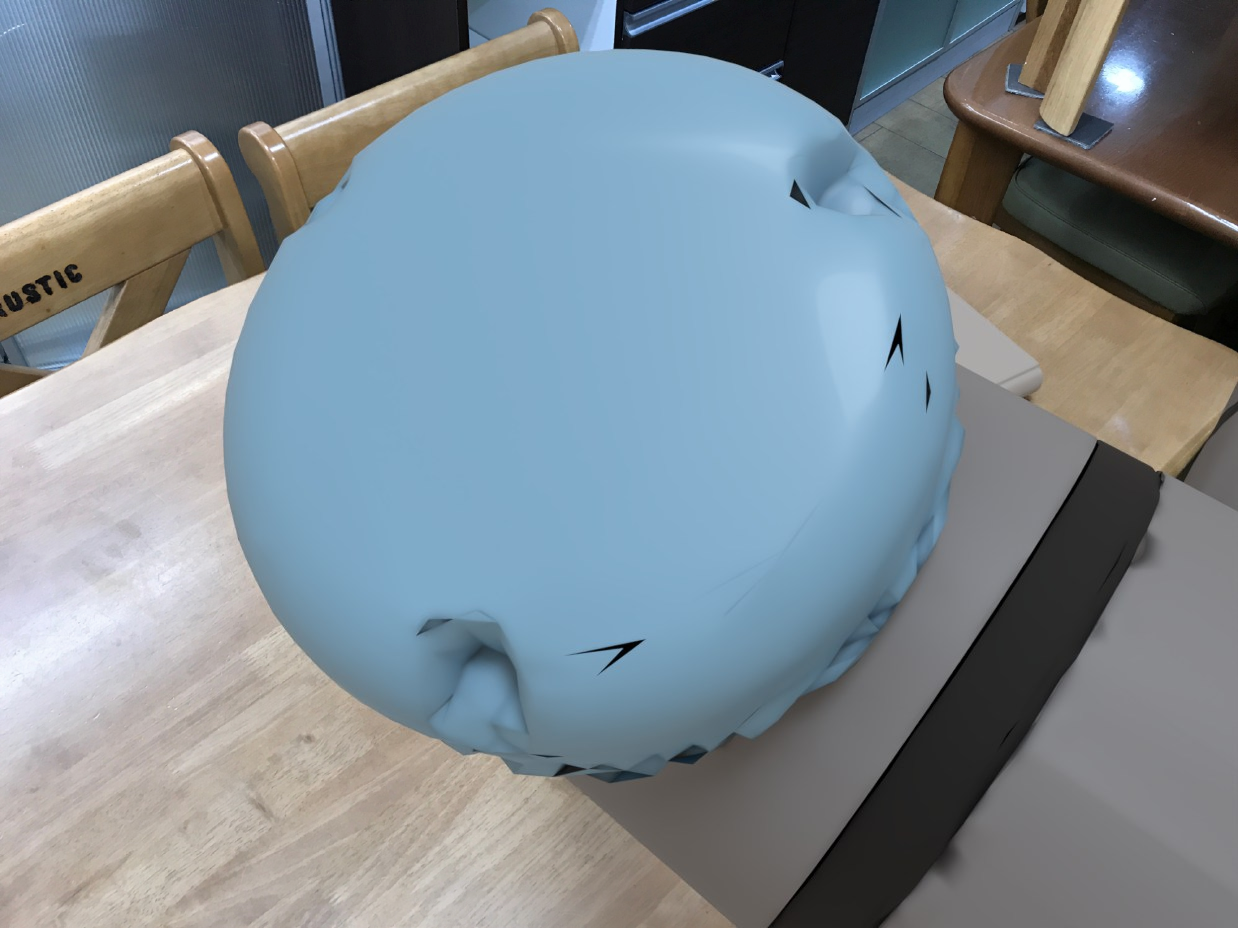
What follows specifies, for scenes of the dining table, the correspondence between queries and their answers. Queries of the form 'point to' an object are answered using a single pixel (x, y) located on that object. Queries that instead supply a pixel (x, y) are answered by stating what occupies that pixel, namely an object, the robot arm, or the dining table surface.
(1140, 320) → the dining table surface
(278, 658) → the dining table surface
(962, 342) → the book
